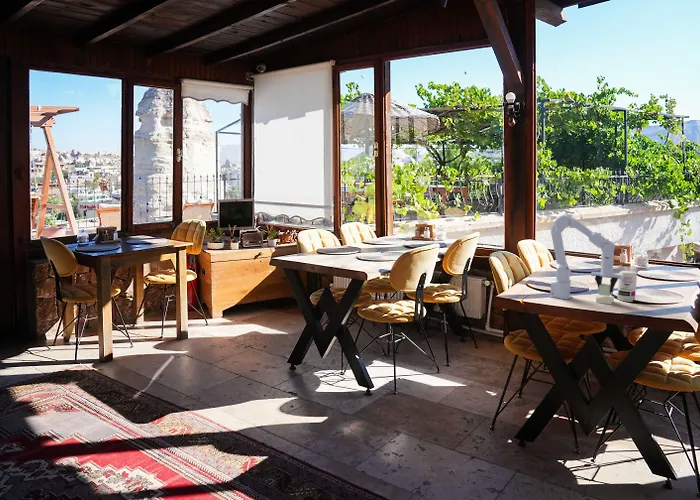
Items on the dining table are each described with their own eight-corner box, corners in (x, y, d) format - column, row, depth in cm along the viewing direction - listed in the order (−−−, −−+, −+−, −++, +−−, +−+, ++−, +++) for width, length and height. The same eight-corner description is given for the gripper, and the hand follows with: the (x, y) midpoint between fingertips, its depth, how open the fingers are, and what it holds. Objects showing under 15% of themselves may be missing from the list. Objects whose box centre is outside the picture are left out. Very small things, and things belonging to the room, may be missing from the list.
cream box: (595, 303, 295) (596, 297, 294) (599, 300, 300) (599, 294, 300) (610, 305, 291) (610, 299, 290) (613, 302, 296) (613, 296, 296)
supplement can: (629, 298, 303) (631, 270, 300) (637, 302, 295) (639, 273, 292) (614, 298, 303) (616, 270, 300) (622, 302, 294) (624, 273, 292)
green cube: (598, 294, 294) (599, 285, 294) (601, 292, 298) (602, 283, 297) (608, 296, 291) (609, 286, 290) (611, 294, 295) (612, 284, 294)
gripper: (589, 264, 294) (588, 290, 296) (620, 268, 285) (618, 294, 287) (594, 262, 299) (592, 288, 301) (624, 266, 290) (622, 292, 292)
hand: (605, 291), depth 295 cm, fingers closed on green cube, 5 cm apart
